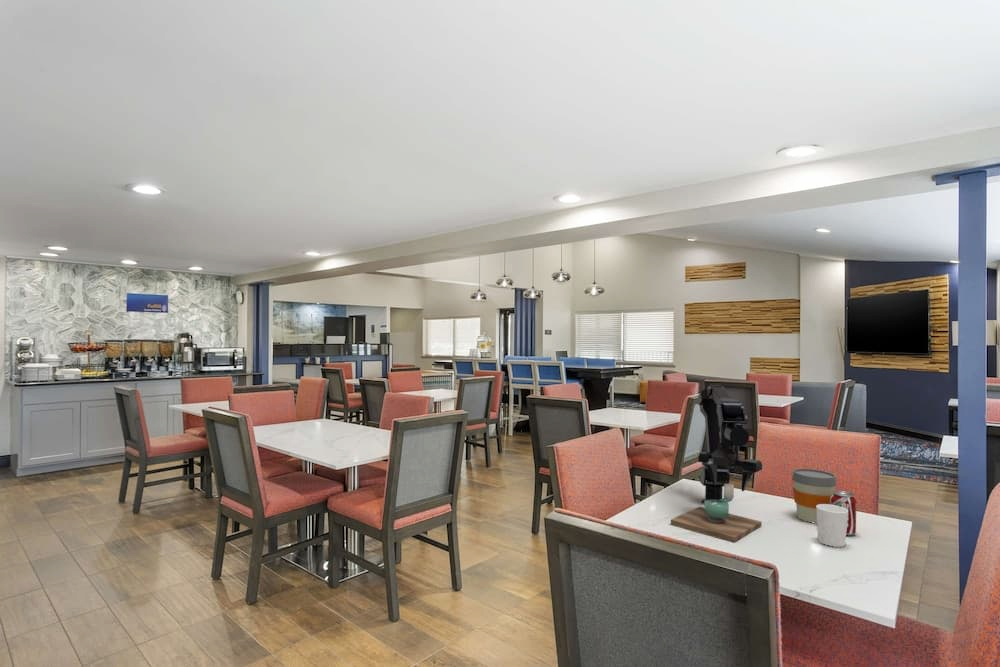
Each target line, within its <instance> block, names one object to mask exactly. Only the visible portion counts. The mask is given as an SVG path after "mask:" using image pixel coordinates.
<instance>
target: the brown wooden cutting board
mask: <svg viewBox="0 0 1000 667" xmlns="http://www.w3.org/2000/svg"><path fill="white" fill-rule="evenodd" d="M670 525H671V526H675V527H678V528H682V529H685V530H689V531H693V532H696V533H701V534H704V535H707V536H710V537H715V538H717V539H721V540H726V541H728V542H732V543H737V542H739V541H740V540H742V539H744V538H745V537H747V536H748V535H750V534H753V532H755V531H757V530H758V529H759V528H762V526H763V525H762V521H761V520H757V519H753V518H748V517H746V516H745V517H744V516H740V515H736V514H733V513H729V514H728V517H726V518H716V517H711V516H708V515H706V514H705V513H704V506H701V505H700V506H697V507H696V508H694V509H691V510H689V511H686V512H684V513H682V514H680V515H677V516H675V517H674V518H671V519H670Z"/></svg>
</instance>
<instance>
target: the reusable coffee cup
mask: <svg viewBox="0 0 1000 667" xmlns="http://www.w3.org/2000/svg"><path fill="white" fill-rule="evenodd" d="M792 481H793V487H792V493H793V500H794V503H795V504H796V505H795V506H796V514H797V519H799V518H800V519H802V520H801V521H803V520H804V521H803V522H805V521H808V522H807V523H809V522H814V523H813V524H815V523H817V514H816V506H817V505H819V504H829V505H830V497H831V496H832V495H833V491H836V490H835V489H836V486H837V476H836V474H834V473H832V472H829V471H825V470H821V469H820V470H819V469H812V468H796V469H793V470H792ZM800 519H799V520H800Z"/></svg>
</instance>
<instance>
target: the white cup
mask: <svg viewBox="0 0 1000 667" xmlns="http://www.w3.org/2000/svg"><path fill="white" fill-rule="evenodd" d="M816 514H817V524H816V530H817V542H819V543H821V544H822V545H824V544H825V546H828V545H829V547H832V546H833V548H843V547H845V545H846V537H847V536H846V532H847V520H848V510H847V509H845V508H843V507H840V506H836V505H829V504H819V505H817V506H816Z"/></svg>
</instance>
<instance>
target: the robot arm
mask: <svg viewBox="0 0 1000 667" xmlns="http://www.w3.org/2000/svg"><path fill="white" fill-rule="evenodd" d="M697 405H698V406H699V411H700V412H701V414H702V416H703V417H704V421H705V436H706V449H707V450H706V451H701V452H700V453H699V454H698V455H697V462H699V463H701V465H702V466H703V468H702V470H701V473H700V477H699V481H700V484H701V485H702V486H704V488H705V491H704V492H705V494H704V495H705V496H704V498H703V499H700V501H701V502H702V503H705V500H720V499H722V498H723V496H724V484H730V478H731V473H730V470H729V469H728V466H729V465H731V466H737V467H742V469H743V470H741V474H742V479H741V492H745V490H746V489H747V486H748V484H749V482H750V479H751V478H752V476H753V475H754V474H755V473H757V472H760V471H762V470H763V463H762V461H761V460H758V459H753V458H747V459H746V460H741V455H740V447H743V446H746V444H748V443H749V440H750V435H749V432H748V430H746V429H745V428H744V427H743V425H747V424H748V416H747V411H746V409H745V407H744V405H743V404H742V402H741V401H740V400H738V399H735V398H732V397H731V396H730V395H729V394H728V393H727V390H725V387H724V386H723V385H722V384H721V385H720V384H718V385H717V384H709V385H707V388H705V389H703V390H701V391H699V393H698V396H697Z"/></svg>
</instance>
